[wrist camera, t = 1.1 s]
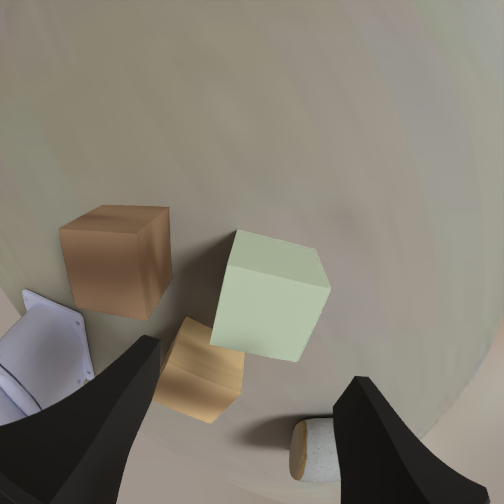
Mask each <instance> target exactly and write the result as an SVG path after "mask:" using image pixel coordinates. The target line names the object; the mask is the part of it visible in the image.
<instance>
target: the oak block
mask: <svg viewBox="0 0 504 504" xmlns="http://www.w3.org/2000/svg"><path fill="white" fill-rule="evenodd" d="M212 331H213V329H212V328H210V327H208V326H206V325H204V324H201V323H199V322H197V321H195V320H193V319H191V318H189V317H187V316H186V317H185V319H184V321H183V323H182V325H181V327H180V329H179V331H178V333H177V334H176V336H175V338H174V340H173V342H172V344H171V346H170V348H169V350H168V352H167V354H166V356H165V359H164V361H163V364H162V366H161V369H160V376H159V379H158V383H157V386H156V389H155V392H154V395H153V398H152V400H153V401H155V402H158V403H160V404H162V405H164V406H167V407H169V408H171V409H174V410H176V411H179V412H181V413H184V414H186V415H189V416H191V417H194V418H197V419H199V420H202V421H205V422H208V423H212V422H213V421H214V420H215V419H216V418H217V417H218V416H219V415H220V414H221V413H222V412H223V411H224V410H225V409H226V408H227V407H228V406H229V405H230V404H231V403H232V402H233V401H234V400H235V399H236V398H237V397H238V396H239V395H240V394H241V387H242V377H243V367H244V357H245V352H241V351H236V350H231V349H227V348H223V347H218V346H214V345H210V340H211V335H212Z"/></svg>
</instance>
